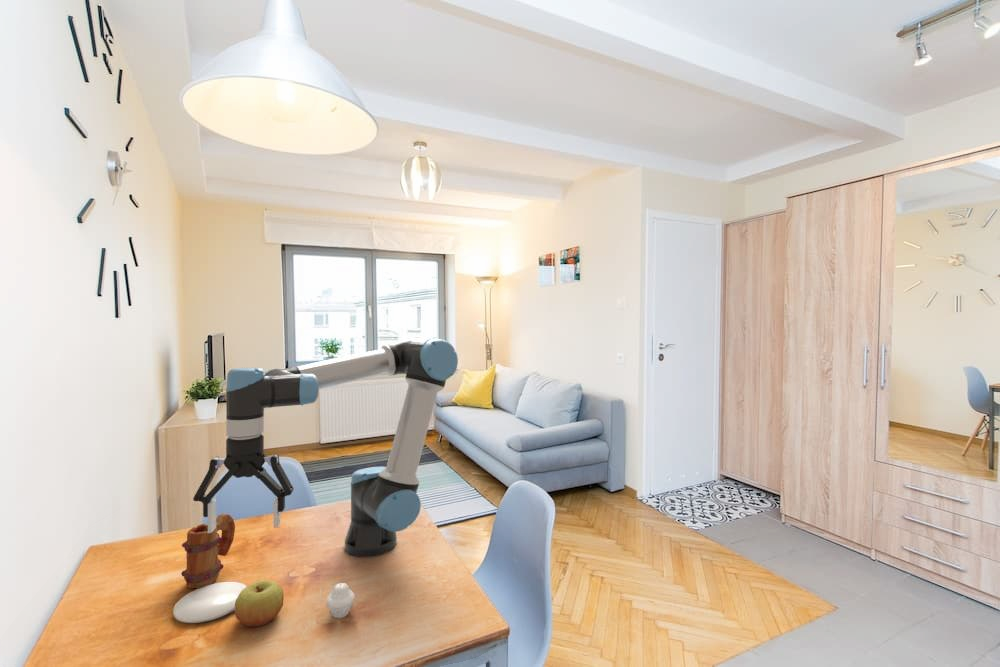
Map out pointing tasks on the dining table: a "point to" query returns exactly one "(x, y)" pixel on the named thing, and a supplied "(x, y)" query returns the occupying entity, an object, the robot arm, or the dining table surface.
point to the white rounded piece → (340, 600)
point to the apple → (259, 603)
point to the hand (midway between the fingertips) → (244, 528)
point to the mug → (207, 551)
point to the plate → (208, 602)
